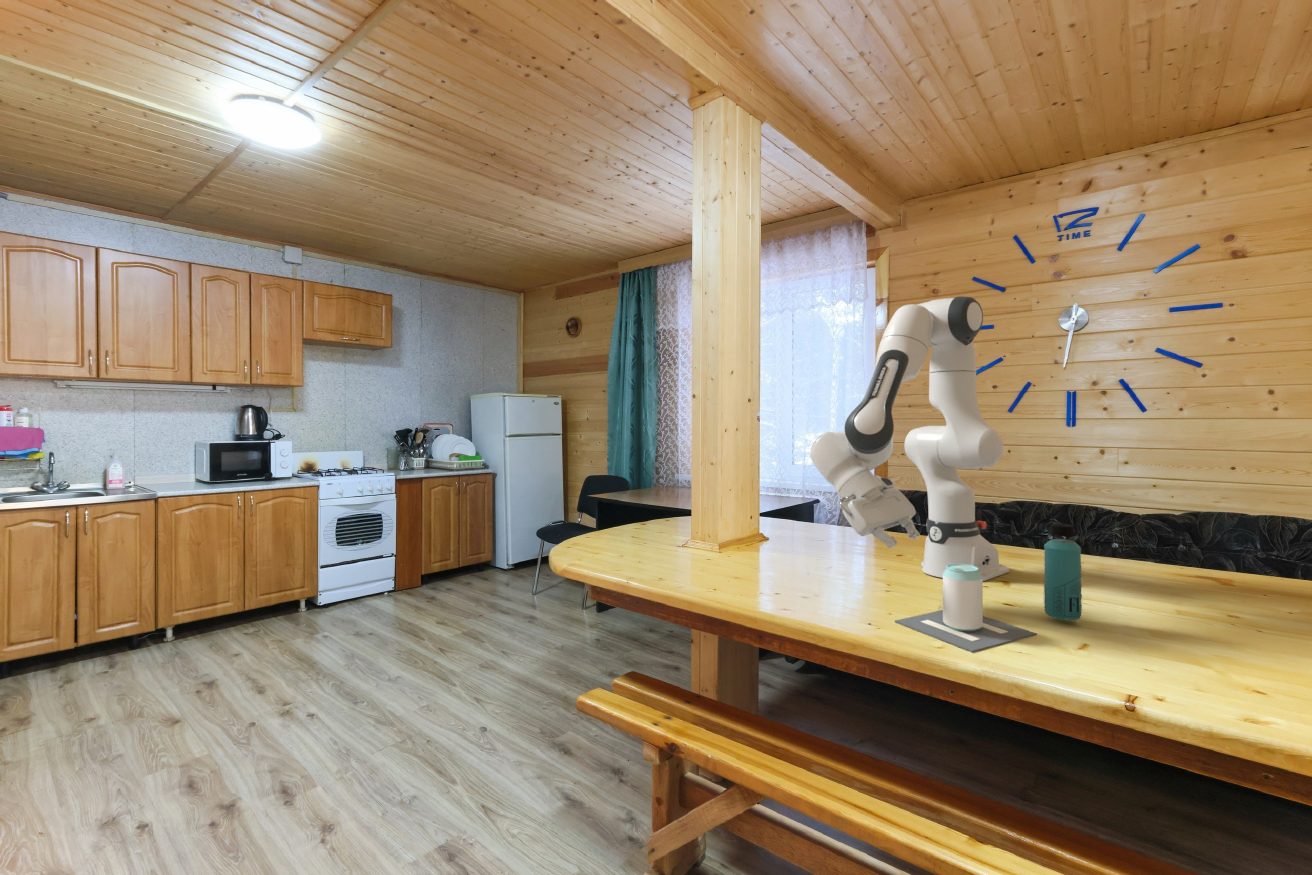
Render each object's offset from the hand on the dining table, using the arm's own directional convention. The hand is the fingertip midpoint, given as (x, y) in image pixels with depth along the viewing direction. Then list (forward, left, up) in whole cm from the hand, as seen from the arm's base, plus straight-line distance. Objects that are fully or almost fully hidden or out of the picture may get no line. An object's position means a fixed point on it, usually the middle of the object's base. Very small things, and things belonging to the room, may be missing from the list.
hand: (905, 541), depth 130 cm
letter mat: (-3, +12, -15) cm, 20 cm away
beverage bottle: (-23, +19, -16) cm, 33 cm away
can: (-2, +12, -15) cm, 20 cm away
